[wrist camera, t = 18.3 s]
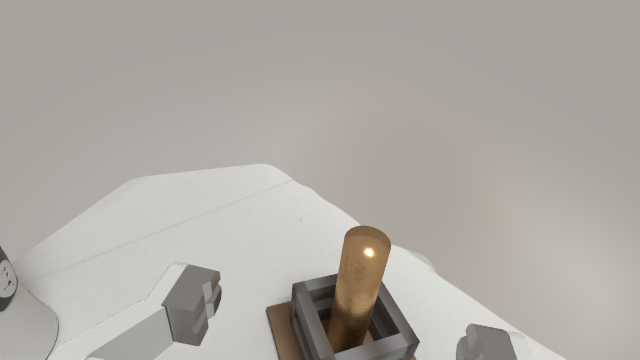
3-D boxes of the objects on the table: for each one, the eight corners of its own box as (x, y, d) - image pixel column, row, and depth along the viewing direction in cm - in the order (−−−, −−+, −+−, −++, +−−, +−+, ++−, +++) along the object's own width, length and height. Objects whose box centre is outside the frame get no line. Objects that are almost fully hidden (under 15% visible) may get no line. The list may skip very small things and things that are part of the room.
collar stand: (302, 445, 34) (309, 410, 30) (266, 311, 46) (267, 272, 42) (431, 392, 40) (453, 356, 35) (368, 285, 52) (379, 248, 47)
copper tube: (334, 368, 40) (357, 263, 30) (320, 334, 43) (337, 230, 33) (367, 356, 41) (400, 253, 31) (352, 324, 45) (376, 222, 35)
